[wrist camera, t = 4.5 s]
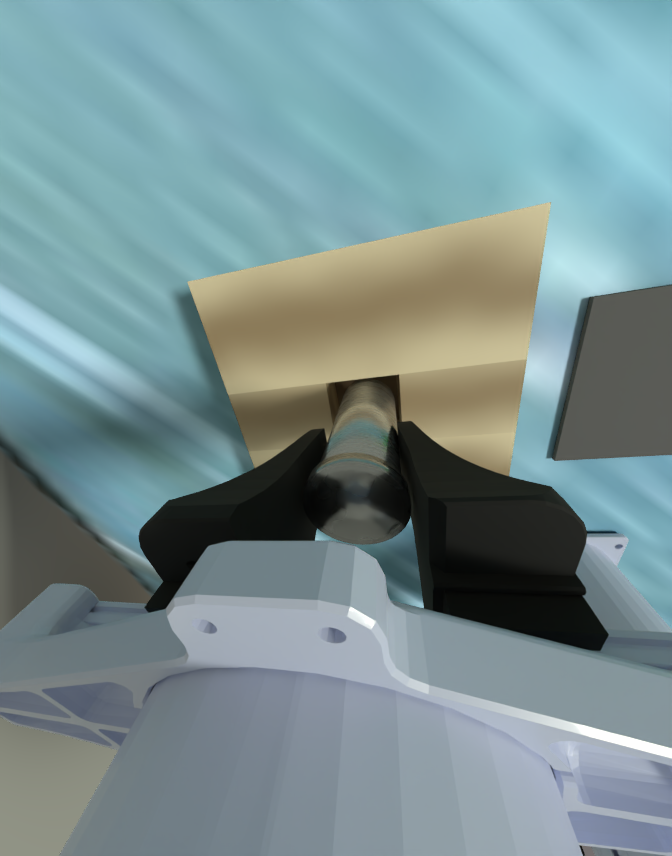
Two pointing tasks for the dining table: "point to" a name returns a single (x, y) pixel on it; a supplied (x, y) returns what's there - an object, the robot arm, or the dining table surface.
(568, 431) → the mat
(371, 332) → the socket block
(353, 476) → the pin
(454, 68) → the dining table surface
